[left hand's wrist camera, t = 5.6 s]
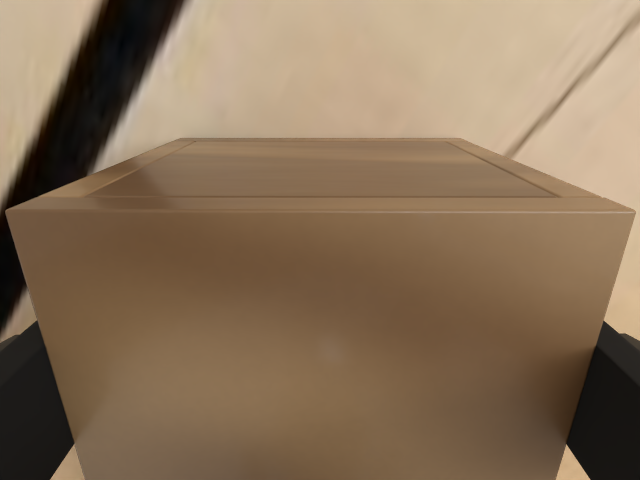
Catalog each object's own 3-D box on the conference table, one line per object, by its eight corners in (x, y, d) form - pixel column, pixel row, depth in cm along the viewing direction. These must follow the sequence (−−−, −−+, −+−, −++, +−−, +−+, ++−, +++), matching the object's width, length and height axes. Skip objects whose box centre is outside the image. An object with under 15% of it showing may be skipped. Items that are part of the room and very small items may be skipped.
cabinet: (416, 497, 24) (474, 751, 15) (224, 496, 24) (165, 750, 15) (461, 138, 16) (638, 210, 7) (179, 137, 16) (2, 210, 7)
